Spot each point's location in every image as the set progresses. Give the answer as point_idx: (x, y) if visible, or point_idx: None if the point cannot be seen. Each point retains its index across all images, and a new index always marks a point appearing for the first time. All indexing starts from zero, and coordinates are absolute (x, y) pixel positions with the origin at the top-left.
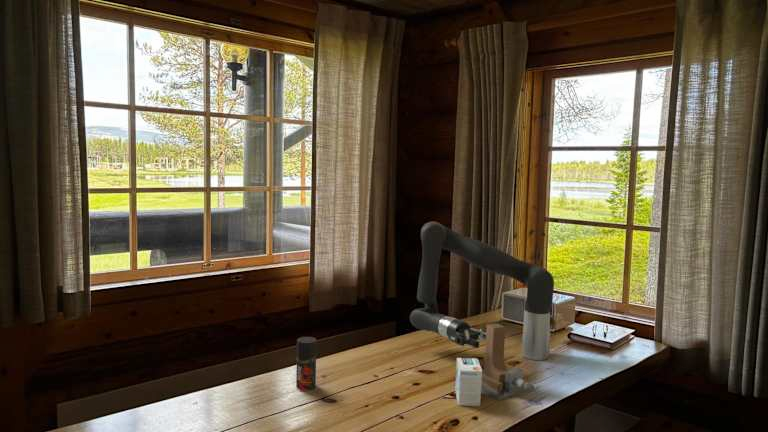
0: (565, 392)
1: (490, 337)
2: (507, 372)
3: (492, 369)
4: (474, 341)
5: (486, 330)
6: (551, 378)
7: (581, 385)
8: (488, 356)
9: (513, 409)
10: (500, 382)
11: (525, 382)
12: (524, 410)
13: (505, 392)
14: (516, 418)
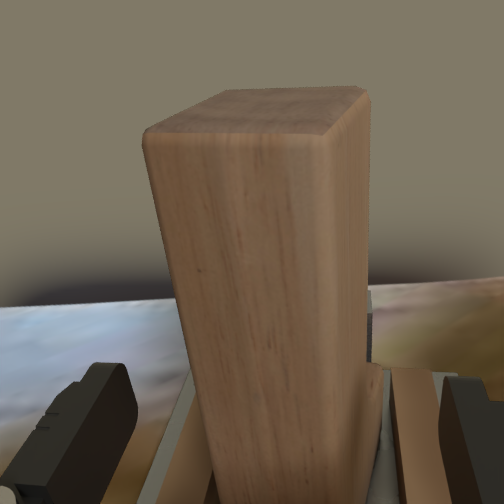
0: (139, 310)
1: (359, 230)
2: (369, 304)
3: (370, 422)
4: (492, 430)
5: (337, 216)
6: (7, 397)
7: (32, 314)
8: (356, 413)
9: (449, 318)
10: (392, 379)
11: (181, 402)
12: (411, 301)
13: (384, 385)
14: (488, 285)
